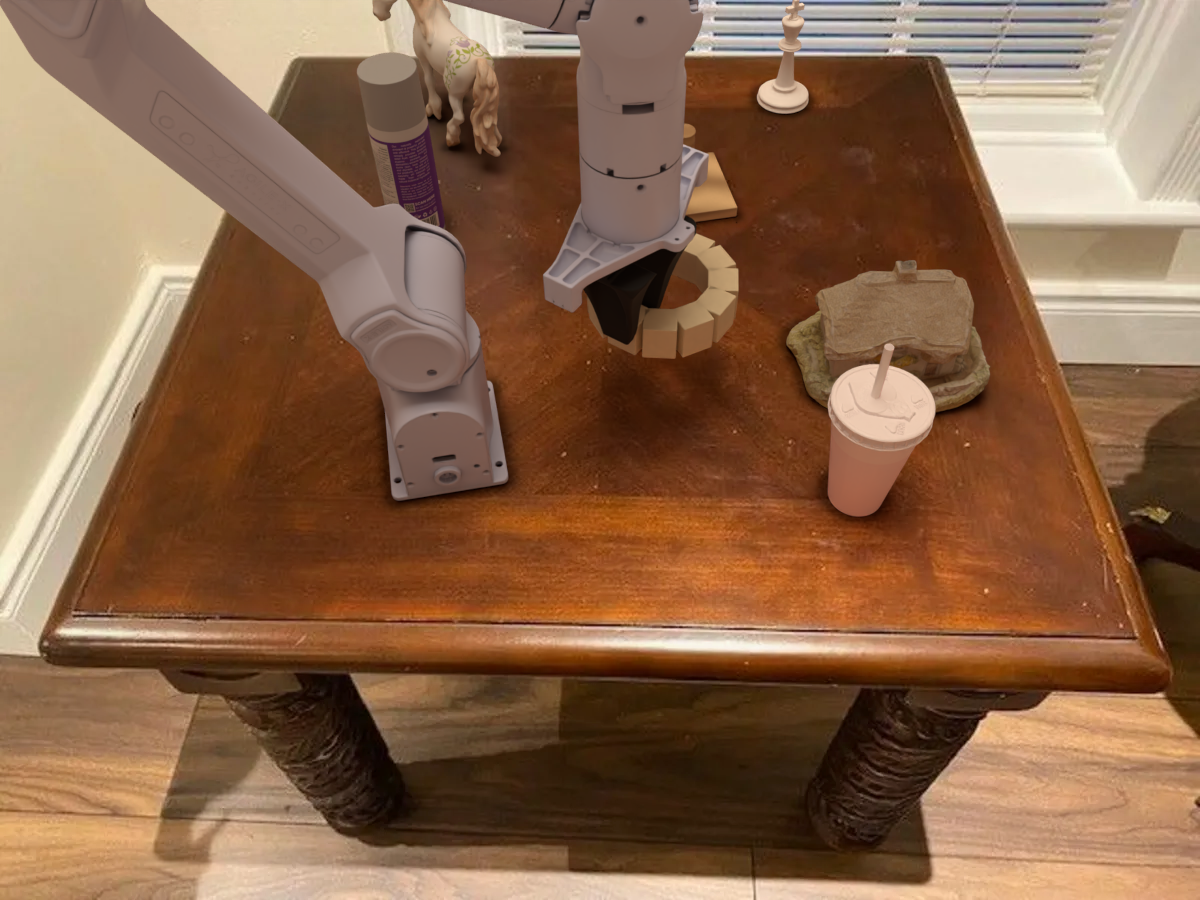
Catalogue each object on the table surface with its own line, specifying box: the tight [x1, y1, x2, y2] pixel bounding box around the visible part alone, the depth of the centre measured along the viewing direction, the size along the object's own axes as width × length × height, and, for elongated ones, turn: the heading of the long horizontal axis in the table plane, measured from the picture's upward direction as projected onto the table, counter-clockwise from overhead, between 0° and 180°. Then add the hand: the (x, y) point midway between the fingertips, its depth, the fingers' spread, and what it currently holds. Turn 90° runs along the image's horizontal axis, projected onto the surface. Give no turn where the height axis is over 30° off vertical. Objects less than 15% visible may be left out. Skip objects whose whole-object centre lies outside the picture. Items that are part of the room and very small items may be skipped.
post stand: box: [683, 123, 738, 223], centre depth 88 cm, size 8×8×6 cm
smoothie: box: [827, 344, 936, 517], centre depth 65 cm, size 6×6×14 cm
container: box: [356, 51, 446, 230], centre depth 83 cm, size 5×5×15 cm
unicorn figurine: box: [371, 0, 503, 158], centre depth 93 cm, size 7×20×13 cm, turn 48°
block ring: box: [586, 232, 740, 360], centre depth 70 cm, size 10×10×3 cm
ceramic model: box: [785, 259, 991, 413], centre depth 74 cm, size 14×11×10 cm
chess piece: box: [756, 0, 809, 115], centre depth 95 cm, size 5×5×10 cm
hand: (629, 323), depth 68 cm, fingers closed on block ring, 2 cm apart
